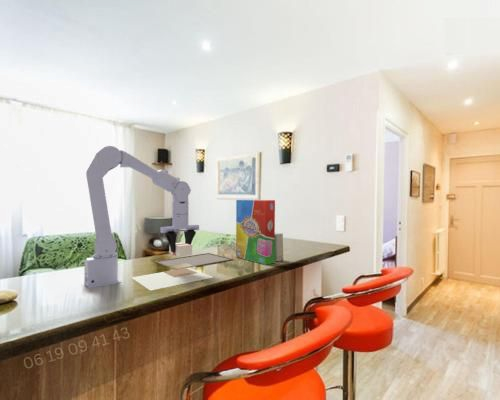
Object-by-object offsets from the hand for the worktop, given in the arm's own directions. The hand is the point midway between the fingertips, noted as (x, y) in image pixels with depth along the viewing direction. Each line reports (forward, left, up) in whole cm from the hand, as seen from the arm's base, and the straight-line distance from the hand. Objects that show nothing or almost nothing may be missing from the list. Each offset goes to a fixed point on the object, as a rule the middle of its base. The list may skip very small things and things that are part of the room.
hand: (180, 251), depth 103 cm
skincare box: (+43, -6, -8) cm, 44 cm away
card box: (0, 0, -1) cm, 1 cm away
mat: (-5, -4, -8) cm, 10 cm away
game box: (+36, 0, -8) cm, 37 cm away
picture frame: (+14, +15, -9) cm, 23 cm away
